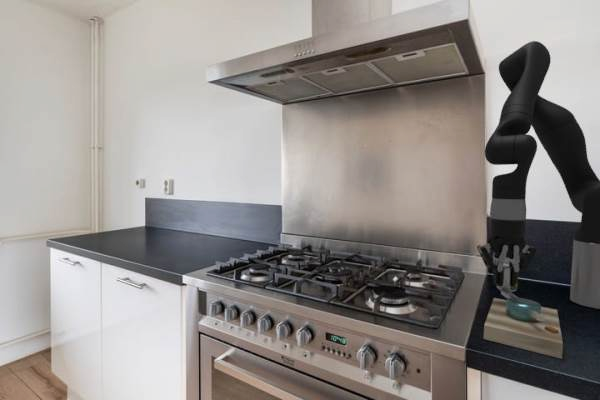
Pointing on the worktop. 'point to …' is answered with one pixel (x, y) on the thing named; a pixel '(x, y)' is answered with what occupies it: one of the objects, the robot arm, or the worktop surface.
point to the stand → (524, 330)
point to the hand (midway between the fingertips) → (504, 285)
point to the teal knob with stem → (519, 302)
